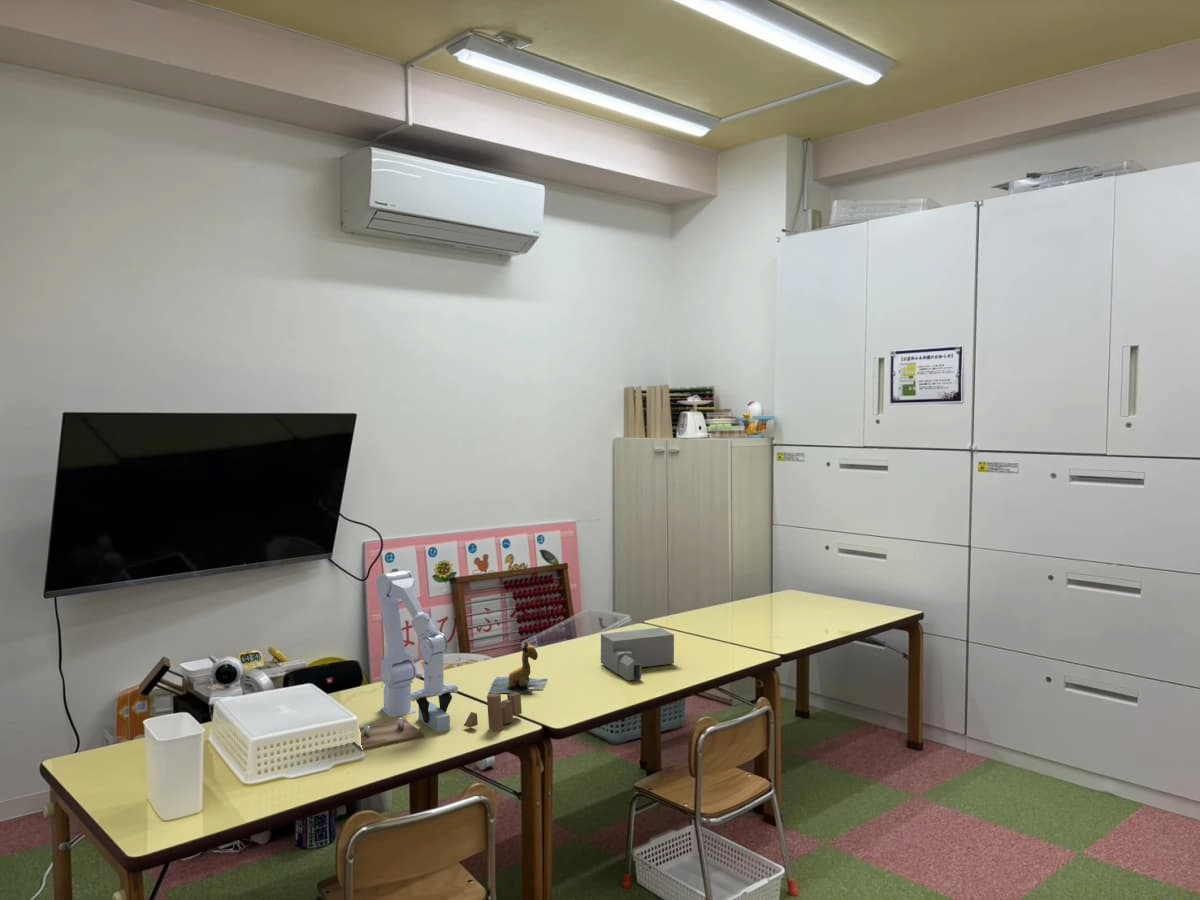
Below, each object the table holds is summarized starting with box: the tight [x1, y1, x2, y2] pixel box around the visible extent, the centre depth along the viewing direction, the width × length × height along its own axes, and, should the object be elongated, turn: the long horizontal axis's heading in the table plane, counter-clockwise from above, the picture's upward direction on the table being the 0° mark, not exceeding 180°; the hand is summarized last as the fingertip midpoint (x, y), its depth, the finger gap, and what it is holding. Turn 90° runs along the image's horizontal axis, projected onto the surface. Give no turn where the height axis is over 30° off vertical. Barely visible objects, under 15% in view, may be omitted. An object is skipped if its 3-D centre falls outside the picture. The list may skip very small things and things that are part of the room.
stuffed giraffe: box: [488, 641, 548, 695], centre depth 296 cm, size 16×18×16 cm
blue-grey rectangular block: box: [418, 701, 451, 734], centre depth 260 cm, size 14×4×5 cm, turn 34°
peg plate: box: [359, 716, 425, 751], centre depth 251 cm, size 15×18×4 cm
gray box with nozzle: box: [600, 627, 675, 682], centre depth 320 cm, size 25×23×11 cm
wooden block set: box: [463, 692, 523, 732], centre depth 259 cm, size 18×9×10 cm, turn 133°
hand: (434, 720), depth 260 cm, fingers open, 5 cm apart
